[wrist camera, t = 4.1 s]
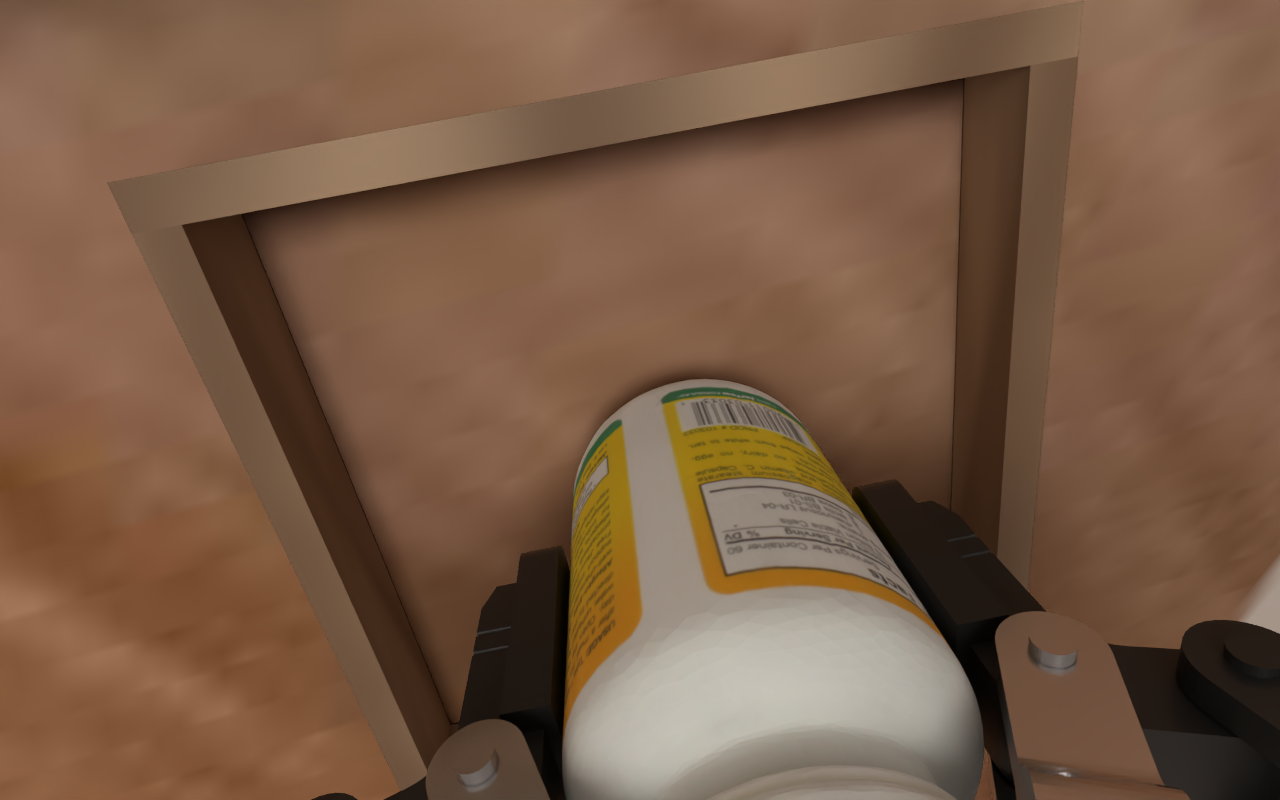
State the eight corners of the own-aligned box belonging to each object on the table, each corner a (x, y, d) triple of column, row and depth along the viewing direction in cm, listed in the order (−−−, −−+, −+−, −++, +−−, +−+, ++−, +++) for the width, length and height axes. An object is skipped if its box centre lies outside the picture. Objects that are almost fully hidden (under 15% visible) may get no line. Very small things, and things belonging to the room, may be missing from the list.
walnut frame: (1007, 16, 12) (1083, 0, 11) (974, 641, 19) (1017, 698, 17) (176, 171, 12) (106, 182, 10) (430, 750, 19) (415, 820, 17)
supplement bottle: (757, 326, 13) (1099, 766, 4) (848, 521, 15) (1200, 1078, 7) (522, 446, 14) (420, 1032, 5) (640, 617, 16) (711, 1237, 7)
